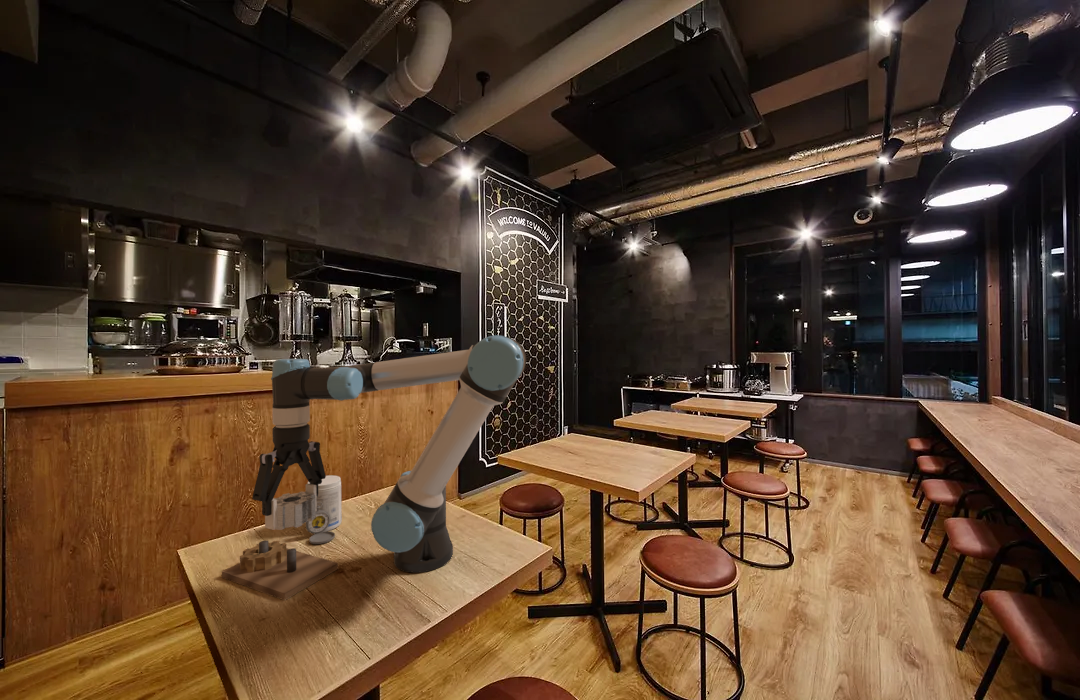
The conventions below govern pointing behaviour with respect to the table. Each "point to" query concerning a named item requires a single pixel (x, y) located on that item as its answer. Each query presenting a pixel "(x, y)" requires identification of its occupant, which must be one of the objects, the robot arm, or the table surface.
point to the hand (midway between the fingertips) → (292, 519)
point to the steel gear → (295, 509)
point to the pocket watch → (319, 534)
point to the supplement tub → (330, 500)
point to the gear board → (278, 569)
